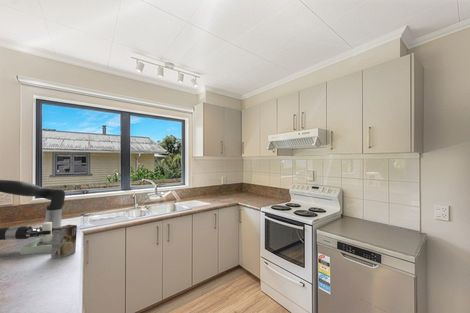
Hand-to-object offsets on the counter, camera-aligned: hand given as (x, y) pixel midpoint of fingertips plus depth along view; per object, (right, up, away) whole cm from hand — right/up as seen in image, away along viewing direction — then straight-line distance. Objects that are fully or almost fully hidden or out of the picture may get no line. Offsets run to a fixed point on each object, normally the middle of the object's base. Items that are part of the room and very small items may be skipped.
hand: (53, 230), depth 127 cm
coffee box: (+16, -10, -11) cm, 22 cm away
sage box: (-3, -10, -1) cm, 10 cm away
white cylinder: (-3, -9, -1) cm, 9 cm away
